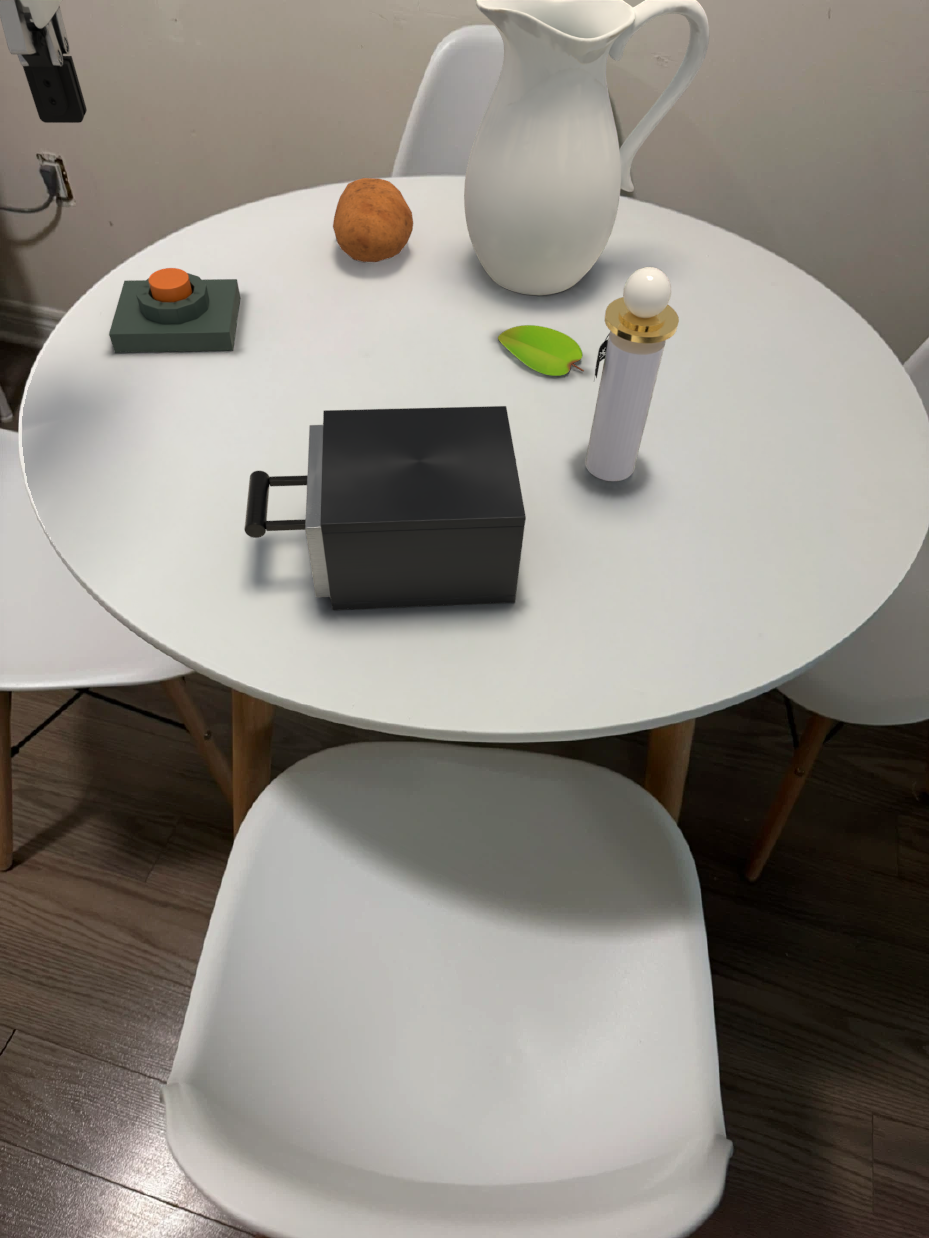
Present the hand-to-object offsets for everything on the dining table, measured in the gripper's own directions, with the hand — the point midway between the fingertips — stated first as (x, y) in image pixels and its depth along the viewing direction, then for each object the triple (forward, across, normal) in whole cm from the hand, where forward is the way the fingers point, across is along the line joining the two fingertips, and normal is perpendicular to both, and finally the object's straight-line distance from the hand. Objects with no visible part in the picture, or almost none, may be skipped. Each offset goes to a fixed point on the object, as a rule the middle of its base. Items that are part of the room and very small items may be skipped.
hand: (64, 117), depth 67 cm
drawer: (+24, +23, +22) cm, 40 cm away
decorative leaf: (+25, -4, +40) cm, 47 cm away
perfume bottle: (+25, +14, +44) cm, 53 cm away
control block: (+25, -11, +2) cm, 27 cm away
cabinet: (+25, +23, +26) cm, 43 cm away
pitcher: (+25, -21, +45) cm, 56 cm away
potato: (+25, -25, +23) cm, 42 cm away
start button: (+22, -11, +2) cm, 24 cm away
